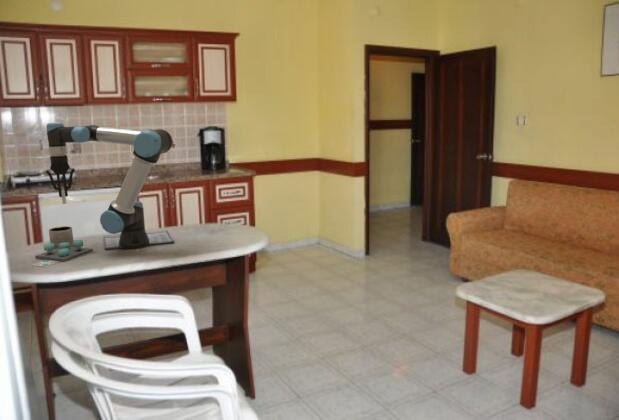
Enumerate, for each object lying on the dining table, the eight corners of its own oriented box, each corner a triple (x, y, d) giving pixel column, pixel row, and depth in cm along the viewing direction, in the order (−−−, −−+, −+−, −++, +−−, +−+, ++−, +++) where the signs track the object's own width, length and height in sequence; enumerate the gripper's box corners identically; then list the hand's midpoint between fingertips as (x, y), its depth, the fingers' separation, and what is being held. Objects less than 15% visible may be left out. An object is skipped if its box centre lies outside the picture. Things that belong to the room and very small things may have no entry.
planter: (64, 250, 261) (62, 231, 259) (46, 249, 263) (43, 230, 261) (78, 244, 271) (76, 226, 269) (60, 243, 274) (58, 226, 272)
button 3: (72, 250, 259) (71, 242, 258) (64, 252, 254) (63, 244, 254) (65, 249, 260) (64, 241, 259) (57, 251, 256) (56, 244, 255)
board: (93, 251, 257) (92, 248, 256) (64, 262, 240) (64, 258, 240) (65, 248, 263) (64, 245, 263) (35, 258, 247) (35, 255, 246)
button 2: (72, 256, 247) (71, 248, 246) (64, 259, 243) (63, 251, 242) (64, 255, 249) (63, 247, 248) (56, 258, 245) (55, 250, 244)
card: (59, 262, 240) (59, 261, 240) (45, 267, 233) (45, 266, 233) (46, 260, 243) (46, 259, 243) (31, 265, 236) (31, 264, 235)
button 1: (85, 248, 255) (85, 240, 254) (78, 250, 251) (77, 242, 250) (78, 247, 257) (77, 239, 256) (71, 249, 252) (70, 241, 252)
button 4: (57, 251, 250) (56, 243, 249) (49, 253, 246) (48, 245, 245) (50, 250, 252) (49, 242, 251) (42, 253, 247) (41, 245, 247)
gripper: (72, 153, 256) (78, 200, 261) (43, 155, 250) (49, 203, 255) (73, 154, 249) (79, 203, 254) (43, 156, 244) (49, 206, 248)
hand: (64, 203), depth 254 cm, fingers closed
